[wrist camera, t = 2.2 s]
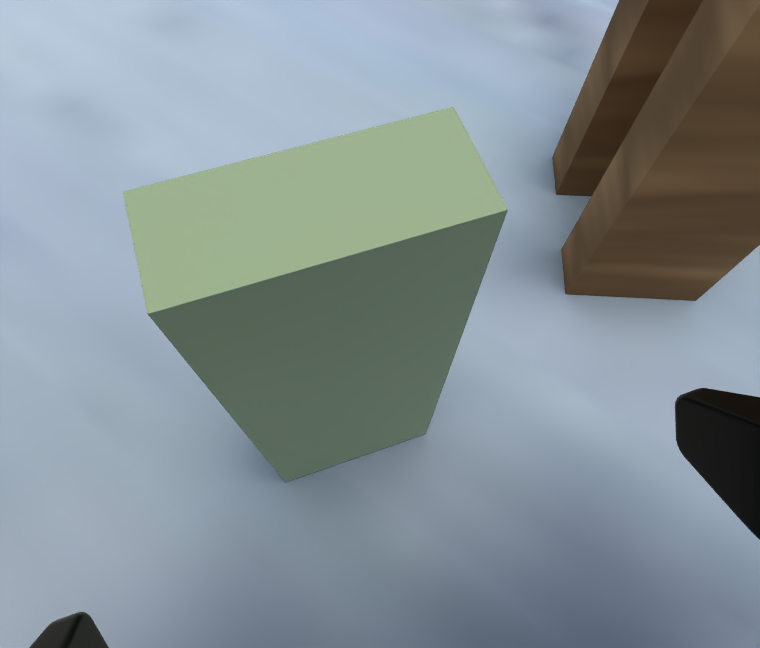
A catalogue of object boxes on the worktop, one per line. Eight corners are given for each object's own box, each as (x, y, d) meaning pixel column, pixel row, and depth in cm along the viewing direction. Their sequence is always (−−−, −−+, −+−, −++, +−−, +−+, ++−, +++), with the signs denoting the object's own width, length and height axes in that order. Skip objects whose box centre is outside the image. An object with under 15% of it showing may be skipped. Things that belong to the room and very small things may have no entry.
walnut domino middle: (696, 300, 22) (1068, -26, 10) (565, 293, 22) (789, -40, 10) (686, 255, 23) (1022, -94, 11) (561, 249, 23) (763, -106, 11)
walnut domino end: (675, 200, 24) (970, -171, 12) (556, 194, 24) (735, -182, 12) (668, 162, 25) (937, -220, 13) (552, 156, 25) (717, -230, 13)
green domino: (425, 434, 20) (508, 209, 8) (285, 482, 19) (147, 313, 7) (405, 381, 21) (453, 106, 9) (269, 426, 20) (122, 191, 8)
